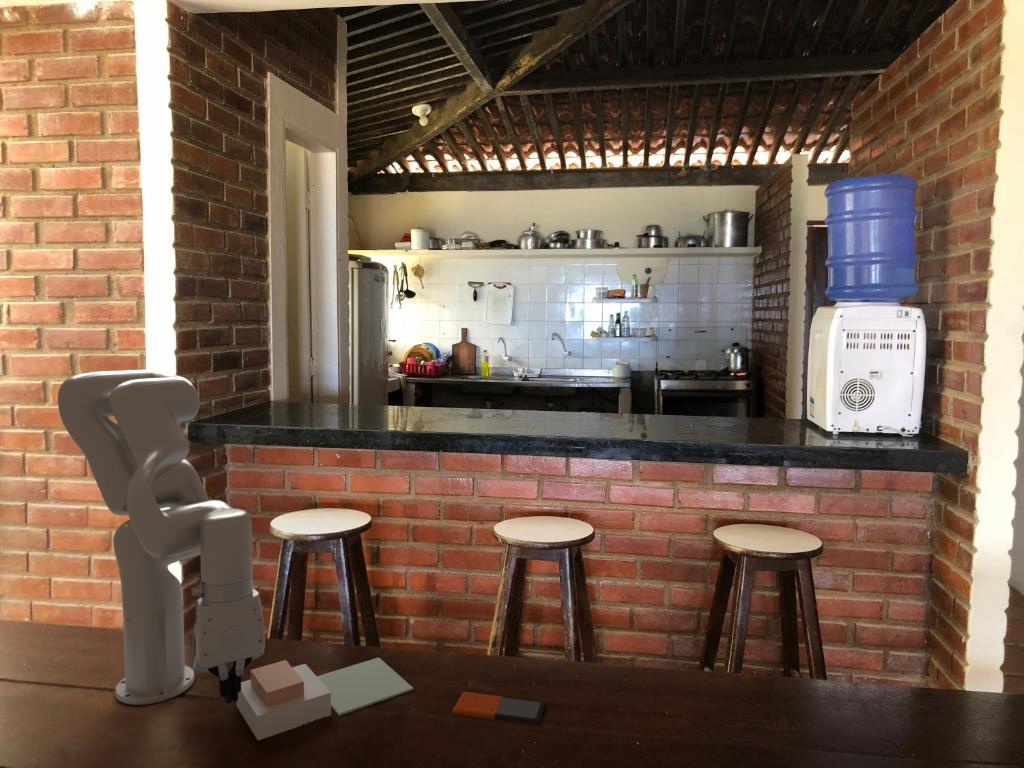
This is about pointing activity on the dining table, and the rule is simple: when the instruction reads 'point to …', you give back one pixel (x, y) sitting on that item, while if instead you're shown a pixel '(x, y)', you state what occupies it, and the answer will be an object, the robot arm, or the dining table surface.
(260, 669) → the salmon rectangular block
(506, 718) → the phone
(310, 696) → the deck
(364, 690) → the mat
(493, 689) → the dining table surface
